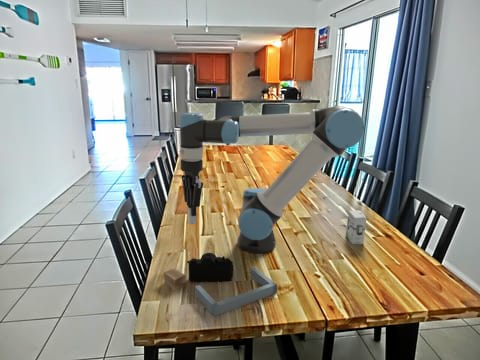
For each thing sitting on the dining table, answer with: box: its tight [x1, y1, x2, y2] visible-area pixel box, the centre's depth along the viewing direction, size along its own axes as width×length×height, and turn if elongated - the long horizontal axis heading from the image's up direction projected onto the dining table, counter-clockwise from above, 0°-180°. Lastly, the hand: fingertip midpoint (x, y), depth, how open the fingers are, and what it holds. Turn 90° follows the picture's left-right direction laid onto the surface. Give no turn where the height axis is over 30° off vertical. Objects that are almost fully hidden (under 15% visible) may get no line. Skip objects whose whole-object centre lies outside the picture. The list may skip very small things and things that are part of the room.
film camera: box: [186, 252, 234, 283], centre depth 118 cm, size 15×10×9 cm, turn 92°
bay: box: [194, 266, 278, 317], centre depth 108 cm, size 22×12×3 cm, turn 123°
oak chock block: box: [163, 267, 187, 292], centre depth 112 cm, size 4×6×4 cm, turn 44°
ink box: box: [345, 209, 367, 245], centre depth 146 cm, size 9×5×12 cm, turn 2°
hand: (192, 223), depth 127 cm, fingers closed
